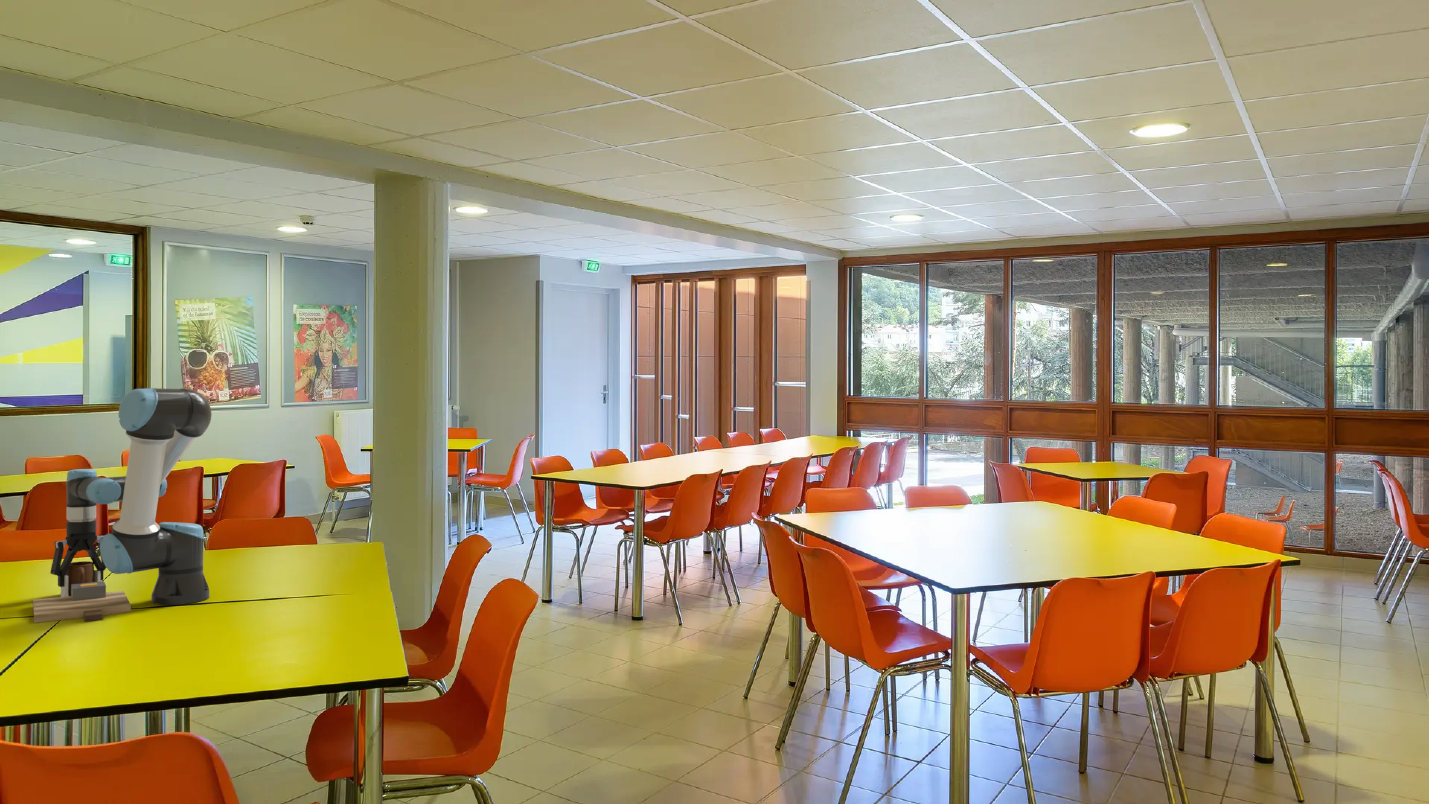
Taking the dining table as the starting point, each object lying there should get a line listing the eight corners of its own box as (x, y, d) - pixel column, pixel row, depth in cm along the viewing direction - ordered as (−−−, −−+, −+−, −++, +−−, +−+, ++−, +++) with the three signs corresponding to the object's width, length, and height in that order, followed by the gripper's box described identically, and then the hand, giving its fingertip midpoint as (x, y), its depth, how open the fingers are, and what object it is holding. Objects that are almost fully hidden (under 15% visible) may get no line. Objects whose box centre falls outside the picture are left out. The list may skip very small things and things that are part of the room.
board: (33, 606, 265) (33, 599, 265) (123, 597, 278) (123, 590, 278) (34, 627, 242) (34, 620, 242) (132, 616, 256) (132, 609, 256)
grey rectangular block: (71, 596, 270) (71, 583, 270) (104, 592, 275) (104, 579, 275) (72, 600, 264) (72, 587, 264) (105, 597, 269) (105, 584, 269)
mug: (96, 597, 277) (96, 566, 277) (65, 600, 272) (65, 569, 272) (92, 590, 287) (93, 560, 287) (62, 593, 282) (63, 562, 282)
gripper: (111, 515, 291) (111, 586, 291) (35, 523, 272) (35, 599, 273) (124, 517, 287) (124, 589, 287) (48, 525, 269) (48, 602, 269)
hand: (80, 594), depth 280 cm, fingers open, 8 cm apart
